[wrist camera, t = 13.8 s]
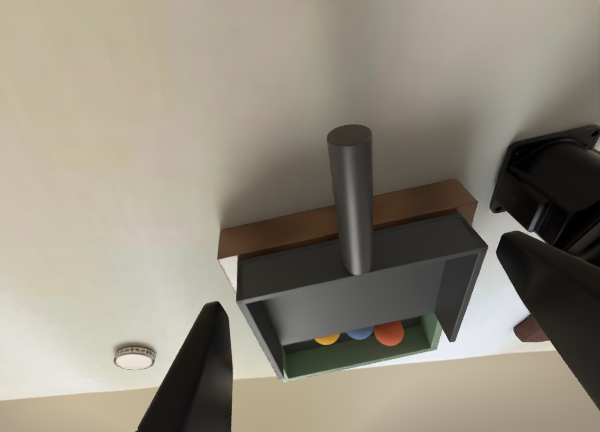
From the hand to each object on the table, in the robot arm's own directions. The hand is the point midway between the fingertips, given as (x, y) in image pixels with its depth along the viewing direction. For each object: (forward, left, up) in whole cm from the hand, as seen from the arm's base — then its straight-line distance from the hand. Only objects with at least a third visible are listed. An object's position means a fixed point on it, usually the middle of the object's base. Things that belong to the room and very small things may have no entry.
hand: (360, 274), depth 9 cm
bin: (-1, +25, -12) cm, 27 cm away
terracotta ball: (-5, +25, -10) cm, 28 cm away
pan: (-1, +9, -9) cm, 13 cm away
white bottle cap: (+23, +22, -12) cm, 34 cm away
